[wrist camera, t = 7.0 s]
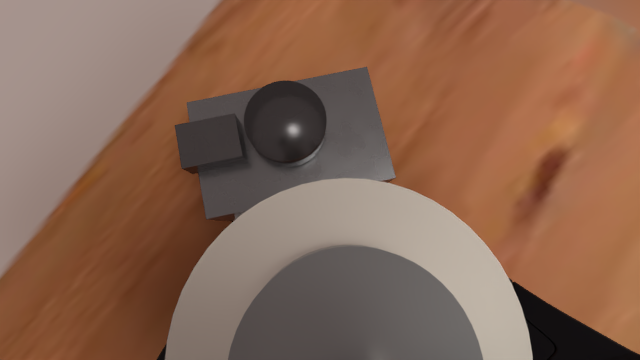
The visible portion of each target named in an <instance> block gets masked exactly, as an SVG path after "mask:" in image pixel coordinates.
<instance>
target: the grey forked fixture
mask: <svg viewBox="0 0 640 360" xmlns="http://www.w3.org/2000/svg"><path fill="white" fill-rule="evenodd" d="M187 108H188V114H189V120H190V122H189V123H184V124H179V125H175V129H176V136H177V142H178V148H179V154H180V160H181V167H182V169H184V170H186V171H188V172H190V173H192V174H195V173H198V174H199V179H200V185H201V191H202V197H203V203H204V209H205V215H206V219H209V220H219V221H234V220H236V219H237V218H238V217H239V216H240V215H242V214H243V213H245V212H246V211H247V210H249V209H250V208H252V207H253V206H255V205H256V204H258V203H259V202H261V201H263V200H265V199H267V198H269V197H271V196H273V195H275V194H277V193H279V192H281V191H284V190H287V189H290V188H293V187H296V186H298V185H301V184H306V183H310V182H315V181H320V180H326V179H339V178H355V179H370V180H375V181H381V182H386V183H388V182H390V181H391V180H393V179H395V178H396V177H395V173H394V169H393V165H392V161H391V157H390V154H389V150H388V146H387V142H386V138H385V134H384V131H383V127H382V123H381V119H380V115H379V111H378V108H377V104H376V100H375V96H374V92H373V88H372V84H371V81H370V77H369V73H368V69H367V67H364V68H359V69H354V70H349V71H343V72H338V73H333V74H328V75H323V76H318V77H313V78H308V79H303V80H298V81H278V82H274V83H271V84H268V85H266V86H264V87H262V88H258V89H253V90H248V91H243V92H238V93H233V94H228V95H223V96H218V97H213V98H208V99H203V100H197V101H192V102H187Z"/></svg>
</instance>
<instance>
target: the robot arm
mask: <svg viewBox="0 0 640 360" xmlns="http://www.w3.org/2000/svg"><path fill="white" fill-rule="evenodd" d="M509 280H510V282H511V283H512V286H513V288H514V290H515V293H516V295H517V297H518V300H519V302H520V304H521V307H522V310H523V314H524V317H525V321H526V324H527V327H528V331H529V337H530V343H531V349H532V355H533V360H640V354H637V353H635V352H633V351H631V350H629V349H628V348H626V347H624V346H622V345H620V344H618V343H617V342H615V341H613V340H611V339H610V338H608V337H606V336H604V335H602V334H601V333H599V332H597V331H595V330H594V329H592V328H590V327H588V326H586V325H585V324H583V323H581V322H579V321H578V320H576V319H574V318H572V317H570V316H569V315H567V314H565V313H564V312H562V311H560V310H558V309H557V308H555V307H553V306H552V305H550V304H548V303H547V302H545V301H543V300H542V299H540V298H539V297H537V296H536V295H534V294H533V293H531V292H529V291H528V290H526V289H525V288H523V287H522V286H520V285H519V284H517V283H516V282H512V280H511V279H510V278H509ZM166 346H167V344H166V345H165V347H164V348H163V350H162V352H161V353H160V355H159V356H158V358H157V360H165V355H166Z"/></svg>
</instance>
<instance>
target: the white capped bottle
mask: <svg viewBox="0 0 640 360" xmlns="http://www.w3.org/2000/svg"><path fill="white" fill-rule="evenodd" d="M165 360H533V355H532V349H531V343H530V337H529V331H528V327H527V324H526V321H525V317H524V314H523V310H522V307H521V304H520V302H519V300H518V297H517V295H516V293H515V290H514V288H513V286H512V283H511V282H510V280H509V278H508V277H507V275H506V273H505V271H504V270H503V268H502V266H501V264H500V263H499V261H498V260H497V259H496V257H495V256H494V255H493V253H492V252H491V251H490V249H489V248H488V247H487V245H486V244H485V243H484V242H483V241H482V240H481V239H480V238H479V236H478V235H477V234H476V233H475V232H474V231H473V230H472V229H471V228H470V227H469V226H468V225H467V224H465V223H464V222H463V221H462V220H460V219H459V218H458V217H457V216H456V215H454V214H453V213H452V212H451V211H449V210H447V209H446V208H444V207H443V206H441V205H439V204H438V203H436V202H435V201H433V200H431V199H429V198H427V197H425V196H423V195H421V194H419V193H416V192H414V191H412V190H410V189H406V188H403V187H400V186H397V185H394V184H391V183H386V182H381V181H375V180H370V179H355V178H339V179H326V180H320V181H315V182H310V183H306V184H301V185H298V186H296V187H293V188H290V189H287V190H284V191H281V192H279V193H277V194H275V195H273V196H271V197H269V198H267V199H265V200H263V201H261V202H259V203H258V204H256V205H255V206H253V207H252V208H250V209H249V210H247V211H246V212H245V213H243V214H242V215H240V216H239V217H238V218H237V219H236V220H235V221H233V222H232V223H231V224H230V225H229V226H228V227H227V228H225V229H224V230H223V231H222V232H221V234H220V235H219V236H218V237H217V238H216V239H215V240H214V241H213V243H212V244H211V245H210V246H209V247H208V248H207V250H206V251H205V253H204V254H203V255H202V257H201V258H200V260H199V261H198V263H197V264H196V266H195V267H194V269H193V270H192V272H191V274H190V276H189V278H188V280H187V282H186V284H185V286H184V288H183V290H182V292H181V295H180V297H179V300H178V303H177V305H176V308H175V311H174V313H173V317H172V322H171V326H170V330H169V334H168V338H167V346H166V355H165Z"/></svg>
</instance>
